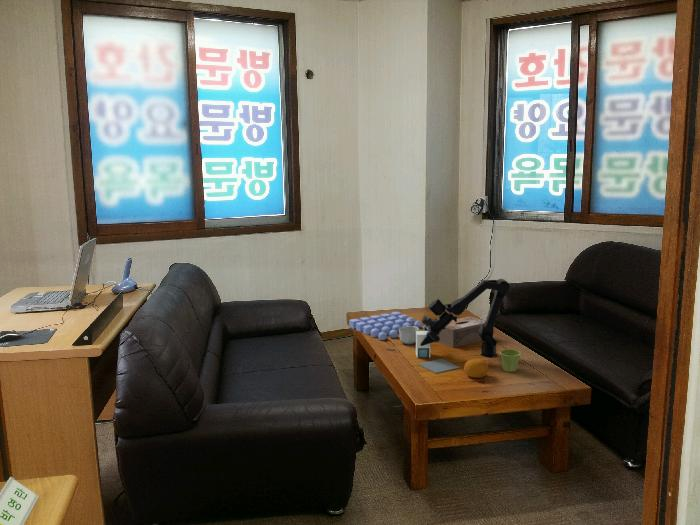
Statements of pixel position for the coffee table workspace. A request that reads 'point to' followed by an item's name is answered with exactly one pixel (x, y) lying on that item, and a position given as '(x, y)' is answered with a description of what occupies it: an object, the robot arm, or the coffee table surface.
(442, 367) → the mat
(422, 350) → the block
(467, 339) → the tissue box cover
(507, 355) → the plant pot
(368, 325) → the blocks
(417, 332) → the tall white pillar
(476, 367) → the fruit
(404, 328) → the teacup
